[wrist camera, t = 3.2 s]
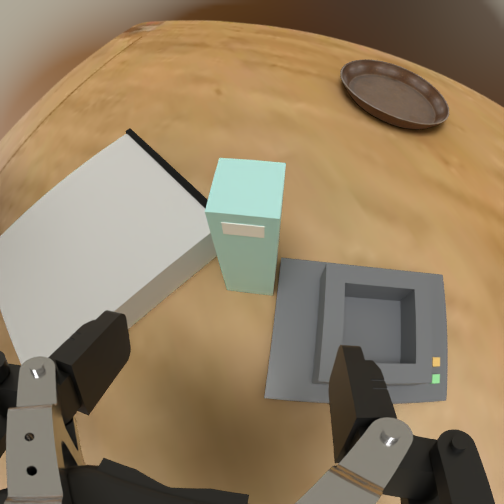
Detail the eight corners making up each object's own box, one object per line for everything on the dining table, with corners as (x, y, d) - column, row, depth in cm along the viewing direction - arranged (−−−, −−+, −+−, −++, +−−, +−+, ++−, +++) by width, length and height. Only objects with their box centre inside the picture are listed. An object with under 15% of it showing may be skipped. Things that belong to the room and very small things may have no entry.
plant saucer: (378, 65, 46) (382, 52, 43) (457, 119, 39) (464, 106, 36) (314, 88, 41) (316, 71, 39) (409, 156, 35) (417, 139, 32)
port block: (264, 397, 23) (264, 397, 19) (280, 262, 28) (283, 240, 25) (440, 400, 21) (465, 398, 18) (437, 278, 27) (457, 261, 23)
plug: (226, 290, 27) (204, 212, 16) (234, 249, 29) (219, 157, 18) (272, 296, 27) (279, 219, 16) (277, 253, 29) (285, 162, 18)
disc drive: (234, 247, 30) (230, 218, 25) (61, 392, 23) (29, 386, 19) (142, 156, 36) (130, 127, 31) (8, 268, 29) (-17, 249, 25)
